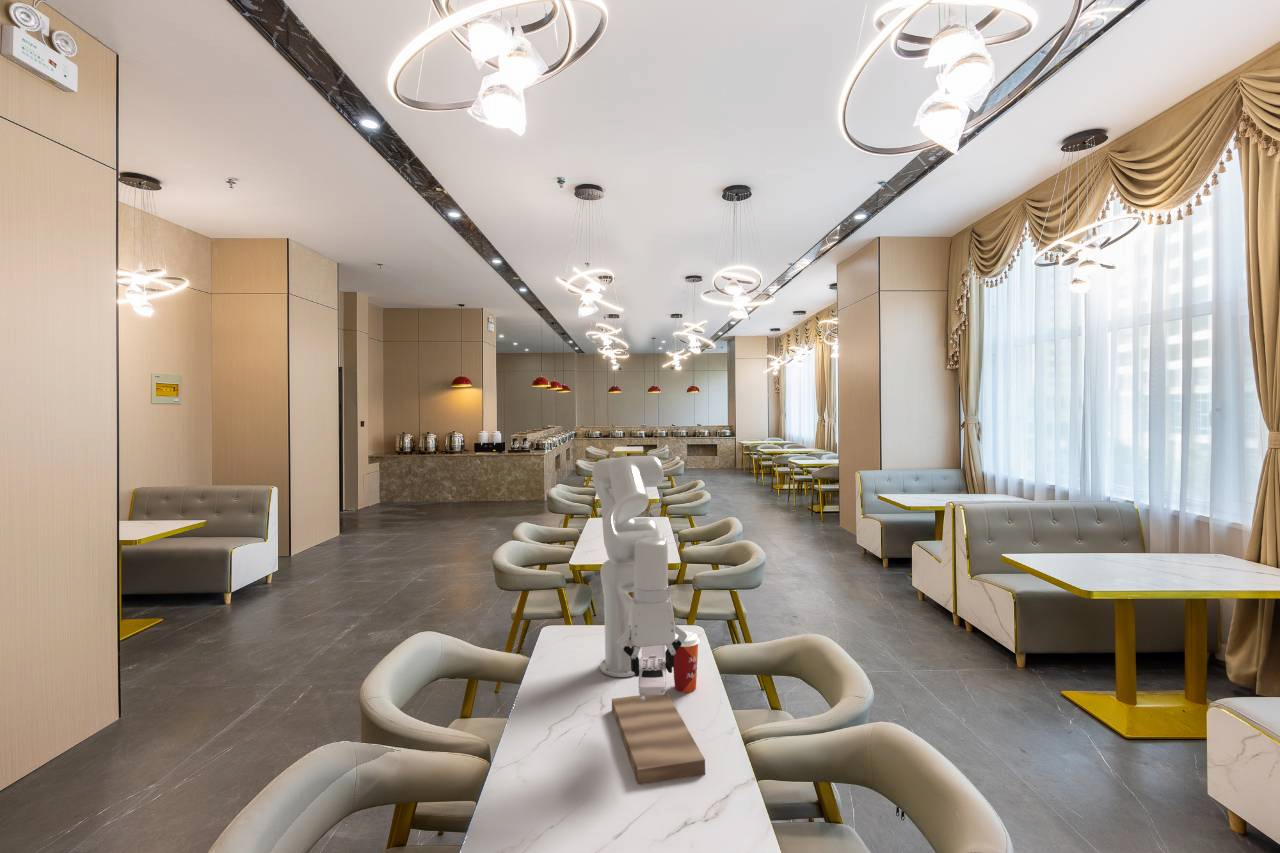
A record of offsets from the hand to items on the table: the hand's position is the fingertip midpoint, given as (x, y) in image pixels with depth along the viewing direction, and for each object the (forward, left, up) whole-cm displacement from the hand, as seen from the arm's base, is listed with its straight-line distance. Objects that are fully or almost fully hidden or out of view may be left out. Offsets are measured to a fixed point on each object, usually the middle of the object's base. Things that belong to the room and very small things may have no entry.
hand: (652, 671), depth 137 cm
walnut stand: (0, 0, -15) cm, 15 cm away
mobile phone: (0, 0, -1) cm, 1 cm away
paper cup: (-22, +14, -16) cm, 30 cm away
